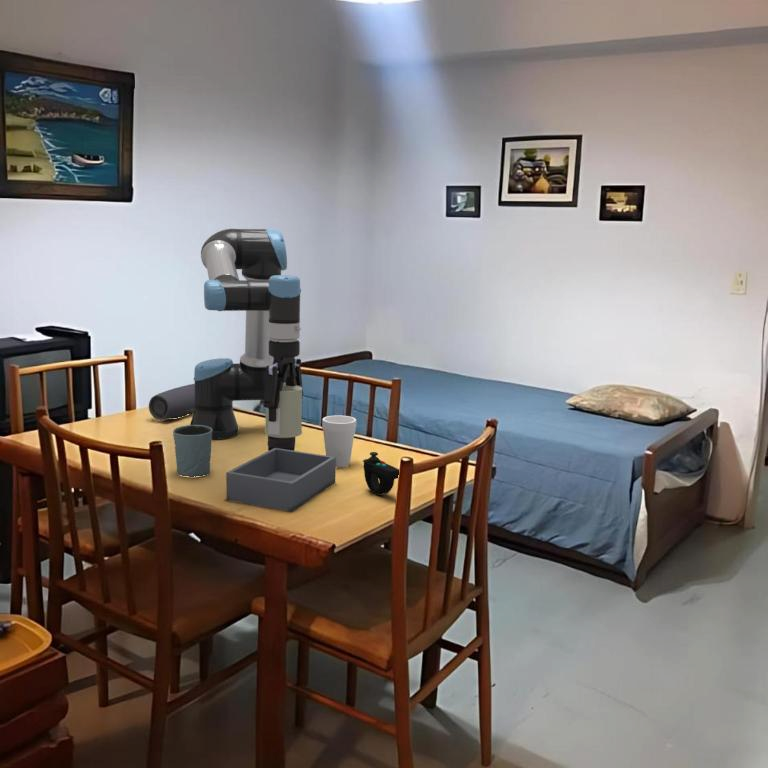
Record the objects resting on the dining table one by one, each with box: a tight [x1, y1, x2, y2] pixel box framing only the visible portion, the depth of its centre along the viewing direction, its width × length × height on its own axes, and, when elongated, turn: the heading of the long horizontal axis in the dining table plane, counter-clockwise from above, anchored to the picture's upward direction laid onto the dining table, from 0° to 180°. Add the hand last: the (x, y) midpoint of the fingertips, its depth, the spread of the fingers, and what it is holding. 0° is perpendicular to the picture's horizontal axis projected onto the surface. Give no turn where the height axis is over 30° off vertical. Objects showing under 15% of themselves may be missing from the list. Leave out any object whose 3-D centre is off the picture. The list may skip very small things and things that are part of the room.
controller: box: [362, 451, 400, 496], centre depth 206 cm, size 4×12×10 cm, turn 37°
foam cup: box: [321, 414, 357, 468], centre depth 229 cm, size 10×9×13 cm
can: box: [264, 383, 303, 438], centre depth 202 cm, size 9×9×12 cm
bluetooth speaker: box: [148, 383, 195, 421], centre depth 277 cm, size 23×9×10 cm, turn 157°
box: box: [225, 448, 337, 513], centre depth 206 cm, size 24×18×7 cm
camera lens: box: [267, 436, 296, 451], centre depth 235 cm, size 8×8×15 cm
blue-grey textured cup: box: [172, 424, 213, 477], centre depth 217 cm, size 10×10×12 cm
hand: (283, 429), depth 203 cm, fingers closed on can, 9 cm apart
